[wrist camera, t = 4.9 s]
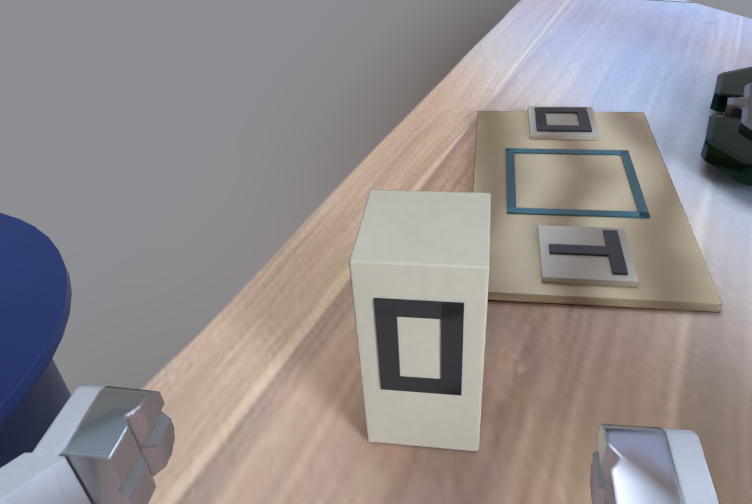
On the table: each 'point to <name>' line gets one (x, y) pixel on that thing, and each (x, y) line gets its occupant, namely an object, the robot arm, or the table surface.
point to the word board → (585, 212)
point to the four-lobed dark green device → (731, 126)
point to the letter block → (422, 315)
